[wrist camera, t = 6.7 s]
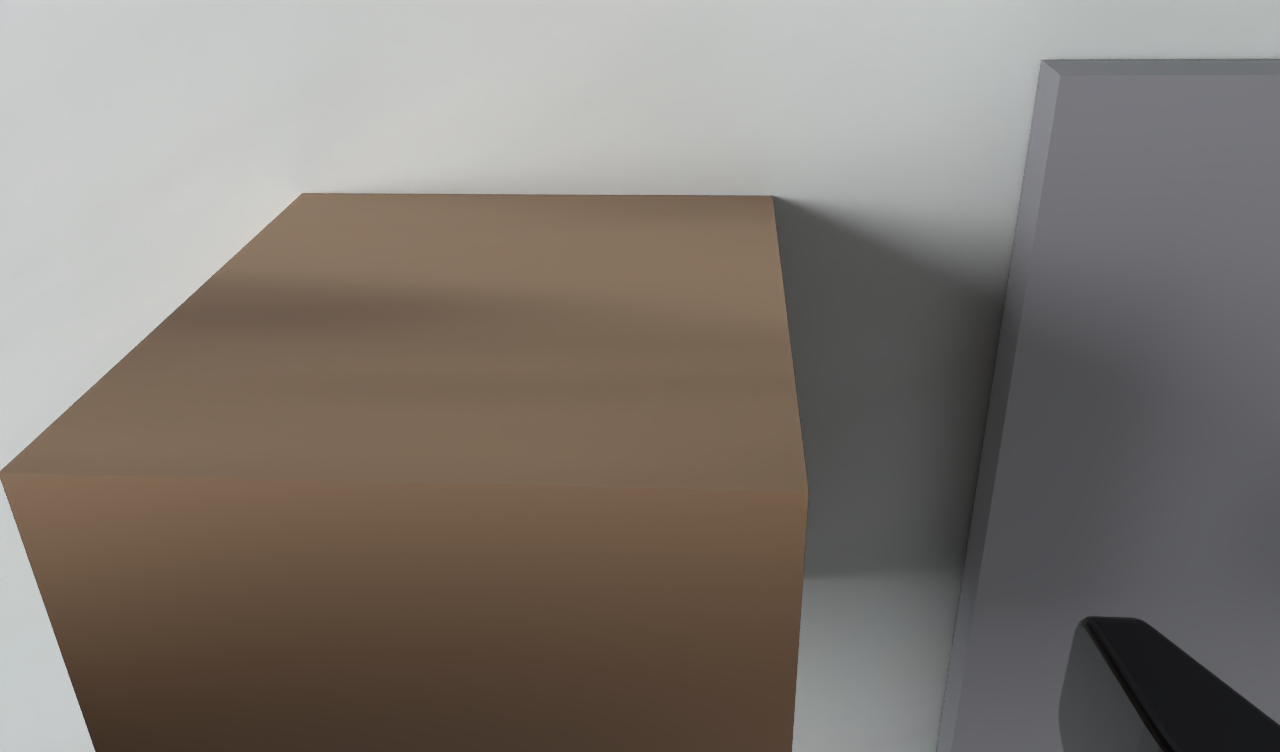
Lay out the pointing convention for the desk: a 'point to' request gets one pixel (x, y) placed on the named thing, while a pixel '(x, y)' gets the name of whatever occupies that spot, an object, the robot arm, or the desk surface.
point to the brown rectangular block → (441, 488)
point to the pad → (1130, 394)
